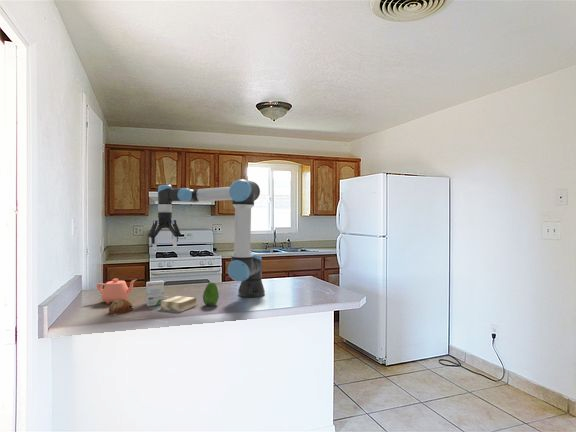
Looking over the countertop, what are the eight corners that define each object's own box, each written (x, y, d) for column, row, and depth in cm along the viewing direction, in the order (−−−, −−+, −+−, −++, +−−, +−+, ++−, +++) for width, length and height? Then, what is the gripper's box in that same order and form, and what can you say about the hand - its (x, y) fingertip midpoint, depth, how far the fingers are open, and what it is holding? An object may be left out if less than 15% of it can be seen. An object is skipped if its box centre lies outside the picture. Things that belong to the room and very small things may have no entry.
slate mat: (198, 305, 194) (198, 304, 194) (178, 313, 180) (178, 312, 180) (169, 302, 201) (169, 301, 201) (148, 309, 186) (148, 308, 186)
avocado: (219, 307, 191) (219, 283, 191) (203, 308, 189) (203, 284, 189) (217, 303, 199) (217, 280, 199) (202, 304, 197) (202, 281, 197)
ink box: (164, 302, 199) (163, 279, 200) (164, 304, 195) (163, 281, 195) (147, 304, 197) (146, 281, 197) (146, 306, 192) (145, 282, 192)
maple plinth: (196, 305, 193) (196, 297, 192) (181, 311, 181) (181, 303, 181) (176, 303, 197) (176, 295, 197) (160, 309, 186) (160, 300, 186)
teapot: (134, 303, 198) (134, 280, 198) (92, 305, 194) (92, 281, 194) (139, 298, 211) (139, 276, 211) (100, 299, 208) (100, 277, 207)
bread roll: (117, 316, 187) (110, 302, 187) (137, 307, 188) (130, 293, 187) (110, 322, 177) (102, 307, 177) (130, 312, 178) (123, 297, 177)
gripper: (179, 211, 233) (179, 246, 233) (141, 211, 213) (141, 249, 213) (186, 211, 228) (186, 247, 228) (149, 211, 208) (149, 250, 209)
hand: (164, 248), depth 221 cm, fingers open, 13 cm apart
